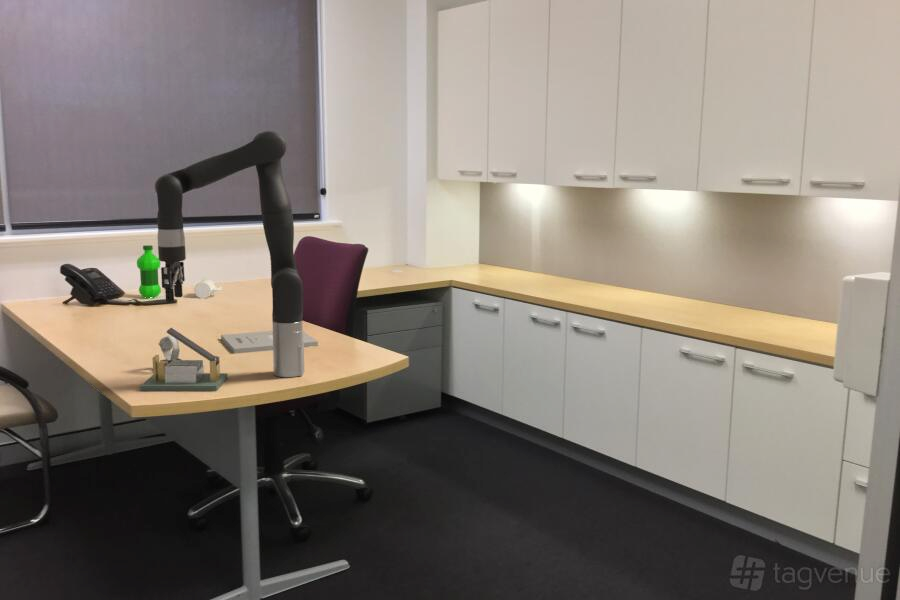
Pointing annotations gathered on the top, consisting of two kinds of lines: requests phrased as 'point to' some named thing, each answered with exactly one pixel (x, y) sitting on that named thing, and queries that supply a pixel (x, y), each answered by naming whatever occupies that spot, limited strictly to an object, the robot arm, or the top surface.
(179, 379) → the heat sink
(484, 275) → the top surface
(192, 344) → the strap
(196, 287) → the mug
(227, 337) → the award plaque
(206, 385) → the board
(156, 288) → the plastic bottle
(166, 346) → the watch
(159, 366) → the clip posts
